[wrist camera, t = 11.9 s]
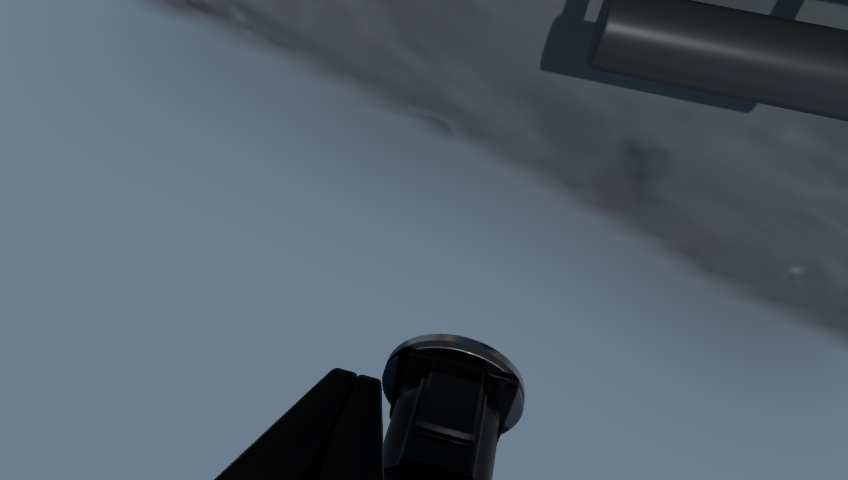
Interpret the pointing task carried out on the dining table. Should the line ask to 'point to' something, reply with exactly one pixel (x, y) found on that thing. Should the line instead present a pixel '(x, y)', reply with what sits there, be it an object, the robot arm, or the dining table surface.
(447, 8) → the dining table surface
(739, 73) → the drawer
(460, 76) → the dining table surface
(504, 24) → the dining table surface
